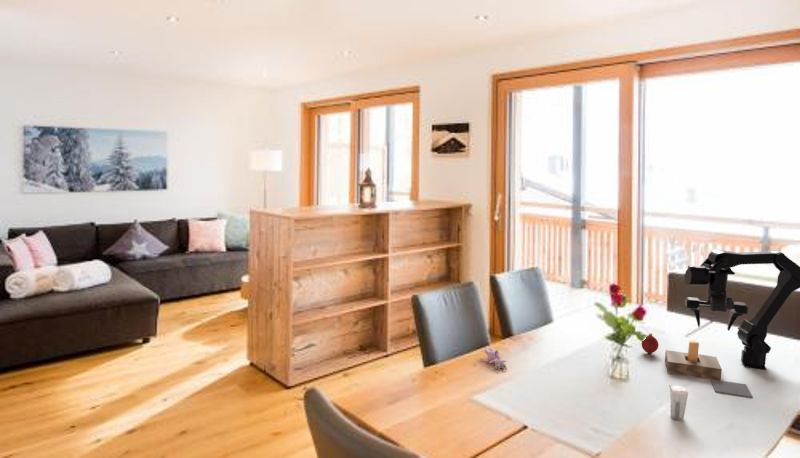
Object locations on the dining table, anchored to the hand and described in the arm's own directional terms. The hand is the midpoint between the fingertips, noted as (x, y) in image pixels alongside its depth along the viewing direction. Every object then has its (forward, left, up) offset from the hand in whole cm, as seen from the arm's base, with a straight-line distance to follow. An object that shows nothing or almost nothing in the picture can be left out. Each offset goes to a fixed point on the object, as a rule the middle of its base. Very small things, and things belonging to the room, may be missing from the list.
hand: (713, 328), depth 190 cm
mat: (-3, +22, -13) cm, 26 cm away
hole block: (+7, +10, -13) cm, 18 cm away
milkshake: (+15, +51, -13) cm, 55 cm away
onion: (+20, -1, -13) cm, 24 cm away
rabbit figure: (+71, +32, -13) cm, 79 cm away
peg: (+7, +10, -13) cm, 18 cm away
